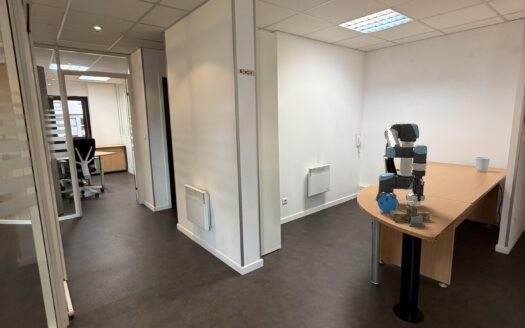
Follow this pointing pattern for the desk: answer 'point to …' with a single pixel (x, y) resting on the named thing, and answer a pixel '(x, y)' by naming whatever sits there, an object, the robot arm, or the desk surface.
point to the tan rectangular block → (407, 209)
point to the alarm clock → (387, 202)
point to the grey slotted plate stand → (415, 221)
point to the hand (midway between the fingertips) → (416, 204)
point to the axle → (413, 197)
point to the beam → (403, 216)
